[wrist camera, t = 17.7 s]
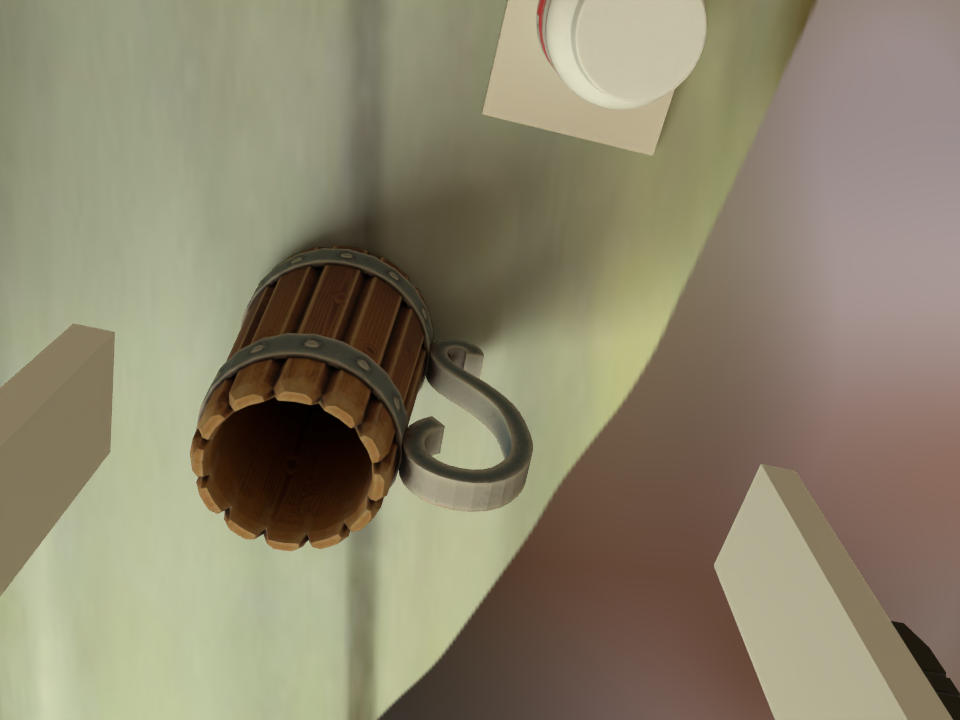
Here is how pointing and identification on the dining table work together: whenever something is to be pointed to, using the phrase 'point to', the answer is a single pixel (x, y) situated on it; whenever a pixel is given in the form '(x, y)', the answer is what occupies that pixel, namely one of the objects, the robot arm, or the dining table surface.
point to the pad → (558, 92)
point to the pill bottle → (622, 46)
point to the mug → (342, 406)
